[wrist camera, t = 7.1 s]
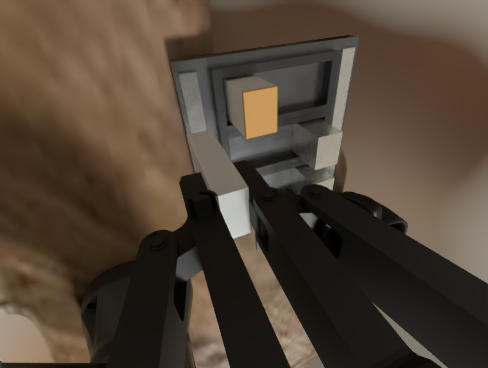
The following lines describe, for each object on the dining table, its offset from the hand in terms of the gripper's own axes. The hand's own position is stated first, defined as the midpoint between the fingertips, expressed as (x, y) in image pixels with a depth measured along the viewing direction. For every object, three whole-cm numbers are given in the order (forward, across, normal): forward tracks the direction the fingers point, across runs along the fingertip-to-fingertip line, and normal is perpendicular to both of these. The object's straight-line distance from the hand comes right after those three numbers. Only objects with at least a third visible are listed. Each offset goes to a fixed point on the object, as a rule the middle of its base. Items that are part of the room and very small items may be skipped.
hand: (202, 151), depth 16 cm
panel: (+12, +10, -6) cm, 17 cm away
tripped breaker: (+10, +6, 0) cm, 12 cm away
